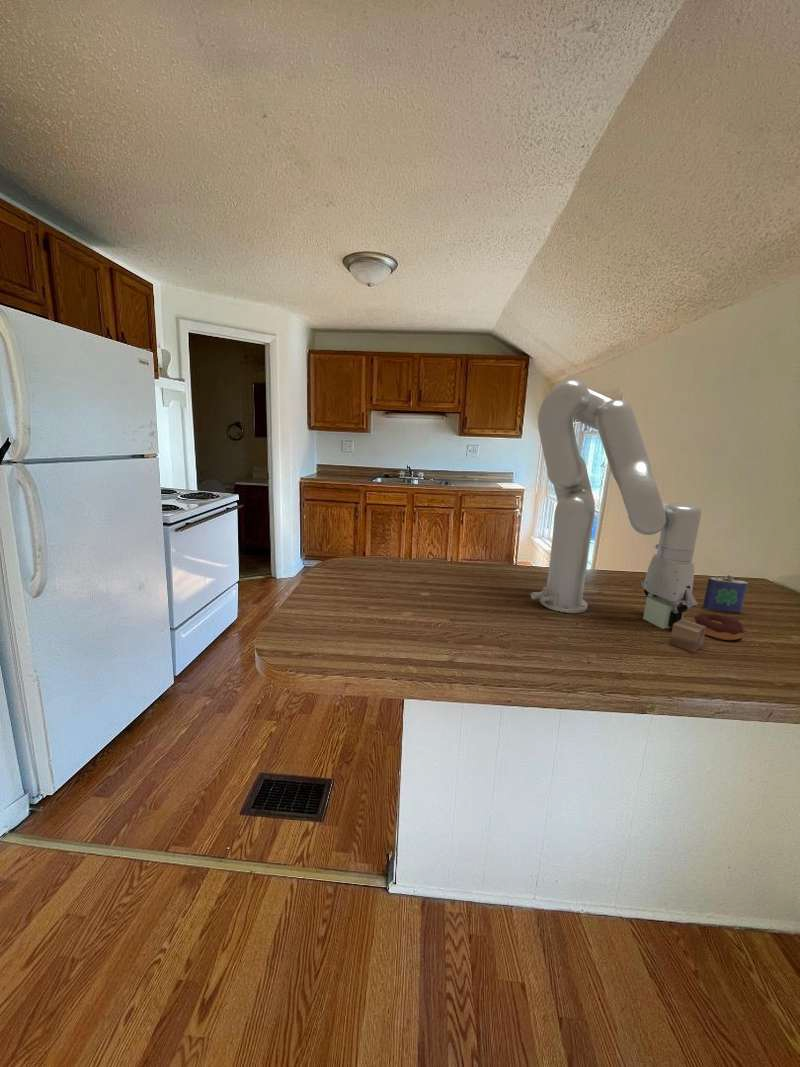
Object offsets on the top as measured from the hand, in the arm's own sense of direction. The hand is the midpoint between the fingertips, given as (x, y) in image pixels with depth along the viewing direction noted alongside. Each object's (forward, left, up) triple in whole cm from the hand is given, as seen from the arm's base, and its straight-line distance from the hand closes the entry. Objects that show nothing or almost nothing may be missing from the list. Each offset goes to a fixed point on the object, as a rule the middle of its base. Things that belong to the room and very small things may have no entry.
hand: (662, 620), depth 110 cm
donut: (+9, -8, -1) cm, 12 cm away
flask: (+24, +2, -1) cm, 24 cm away
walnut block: (-5, -11, -1) cm, 12 cm away
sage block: (0, 0, -1) cm, 1 cm away
